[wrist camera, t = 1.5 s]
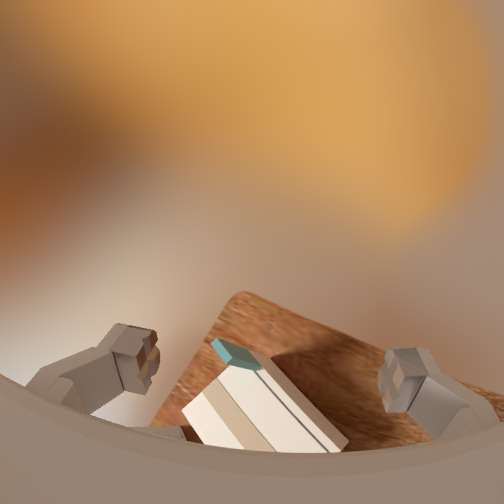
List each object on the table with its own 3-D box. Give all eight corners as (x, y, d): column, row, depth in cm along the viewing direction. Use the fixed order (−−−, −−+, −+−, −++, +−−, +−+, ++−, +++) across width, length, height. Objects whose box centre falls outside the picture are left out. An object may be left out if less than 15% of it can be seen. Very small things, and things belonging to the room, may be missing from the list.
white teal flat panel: (349, 441, 32) (327, 465, 20) (343, 446, 32) (319, 471, 20) (268, 356, 43) (216, 337, 31) (263, 361, 43) (210, 344, 31)
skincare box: (180, 424, 43) (128, 423, 34) (190, 447, 41) (138, 451, 31) (157, 436, 44) (105, 436, 34) (166, 458, 41) (114, 462, 32)
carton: (344, 448, 32) (334, 459, 26) (279, 496, 32) (258, 511, 26) (263, 362, 43) (239, 355, 37) (210, 410, 43) (181, 410, 37)
